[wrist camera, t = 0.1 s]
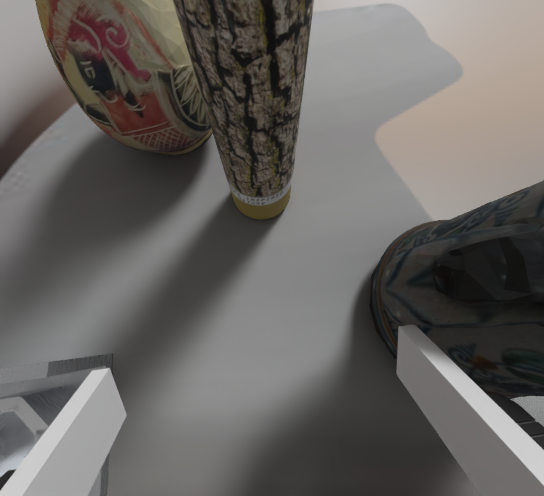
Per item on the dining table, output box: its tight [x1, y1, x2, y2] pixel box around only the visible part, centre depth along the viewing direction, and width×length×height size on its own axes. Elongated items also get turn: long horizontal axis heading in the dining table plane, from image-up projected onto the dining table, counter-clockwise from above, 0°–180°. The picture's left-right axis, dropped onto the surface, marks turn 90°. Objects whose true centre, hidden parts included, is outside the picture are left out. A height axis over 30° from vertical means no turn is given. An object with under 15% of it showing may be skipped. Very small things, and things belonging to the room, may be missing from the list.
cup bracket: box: [0, 354, 113, 496], centre depth 21 cm, size 12×12×8 cm
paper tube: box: [173, 0, 314, 219], centre depth 20 cm, size 7×7×25 cm
